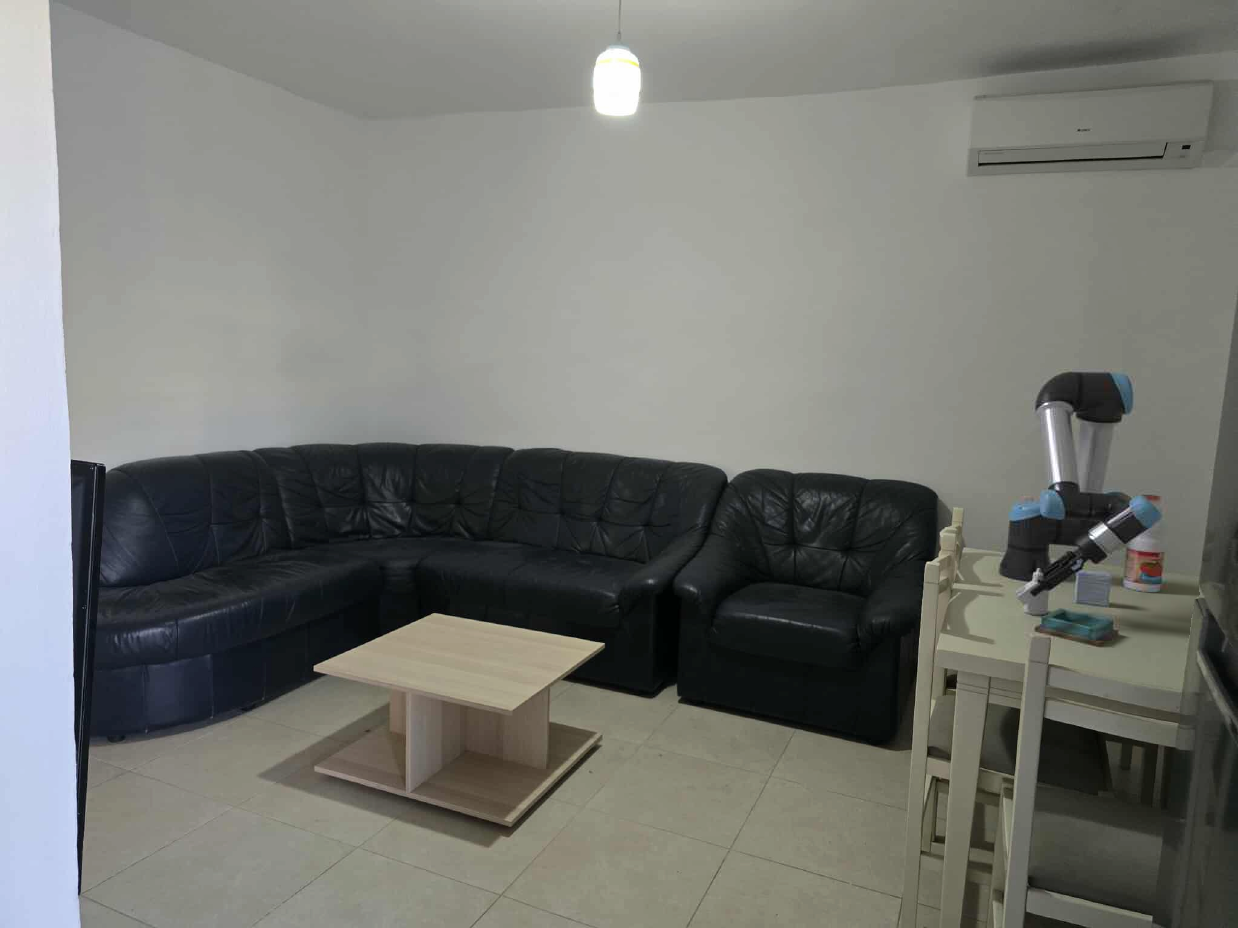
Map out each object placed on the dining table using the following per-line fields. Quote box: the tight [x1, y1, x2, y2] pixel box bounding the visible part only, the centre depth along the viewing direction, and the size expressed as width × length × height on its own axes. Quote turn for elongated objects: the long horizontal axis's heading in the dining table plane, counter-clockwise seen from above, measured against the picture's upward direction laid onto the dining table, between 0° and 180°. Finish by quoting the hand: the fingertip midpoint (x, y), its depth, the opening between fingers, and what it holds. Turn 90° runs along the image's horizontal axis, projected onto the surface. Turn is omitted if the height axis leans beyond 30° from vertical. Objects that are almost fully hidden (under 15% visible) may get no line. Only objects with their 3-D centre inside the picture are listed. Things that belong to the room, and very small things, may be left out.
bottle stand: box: [1034, 608, 1119, 648], centre depth 194 cm, size 14×14×4 cm
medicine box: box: [1074, 569, 1112, 608], centre depth 220 cm, size 8×4×9 cm, turn 65°
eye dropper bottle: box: [1022, 568, 1050, 616], centre depth 209 cm, size 4×6×12 cm
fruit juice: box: [1122, 494, 1167, 593], centre depth 236 cm, size 9×9×28 cm
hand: (1020, 598), depth 211 cm, fingers closed on eye dropper bottle, 4 cm apart
